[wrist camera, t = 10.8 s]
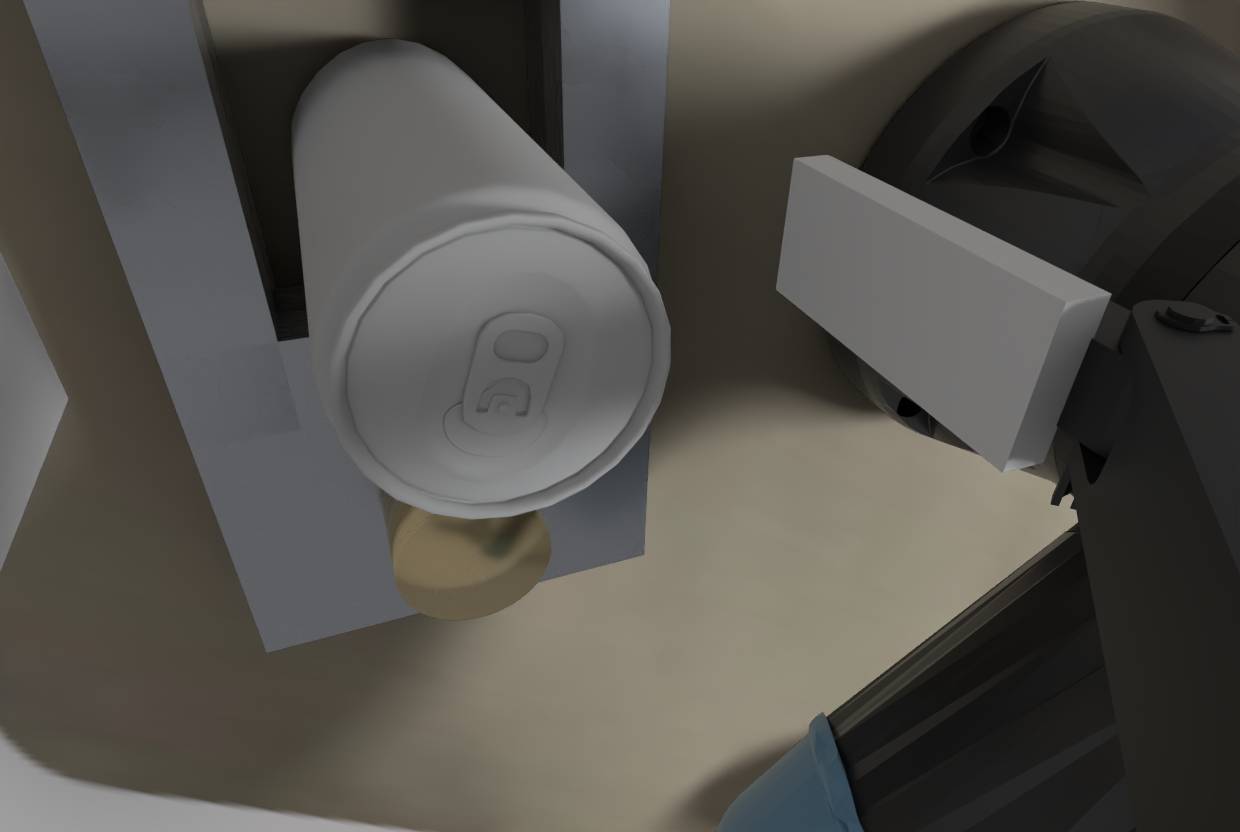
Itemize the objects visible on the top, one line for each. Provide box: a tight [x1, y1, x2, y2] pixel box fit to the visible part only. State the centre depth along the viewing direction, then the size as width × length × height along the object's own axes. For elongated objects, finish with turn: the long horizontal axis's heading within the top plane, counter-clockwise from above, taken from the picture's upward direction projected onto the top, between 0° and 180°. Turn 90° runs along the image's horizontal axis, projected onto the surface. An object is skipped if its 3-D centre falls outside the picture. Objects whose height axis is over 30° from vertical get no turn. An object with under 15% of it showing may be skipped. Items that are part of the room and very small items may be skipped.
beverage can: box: [291, 39, 671, 519], centre depth 15 cm, size 5×5×12 cm
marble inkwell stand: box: [23, 0, 670, 653], centre depth 17 cm, size 12×27×6 cm, turn 179°
